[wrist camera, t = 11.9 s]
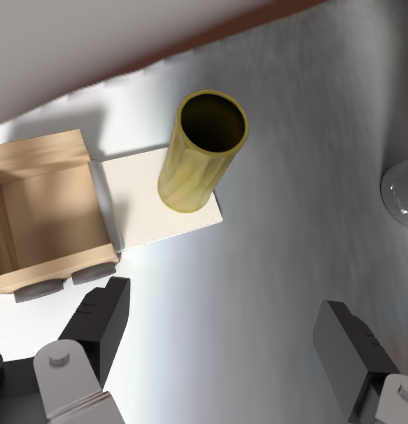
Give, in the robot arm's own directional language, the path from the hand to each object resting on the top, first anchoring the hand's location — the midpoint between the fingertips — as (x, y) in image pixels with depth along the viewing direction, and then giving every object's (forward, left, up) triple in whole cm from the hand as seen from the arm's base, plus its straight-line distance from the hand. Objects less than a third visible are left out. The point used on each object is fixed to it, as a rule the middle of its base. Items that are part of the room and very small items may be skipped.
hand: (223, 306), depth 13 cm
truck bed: (+9, -11, -21) cm, 26 cm away
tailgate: (-2, -11, -21) cm, 24 cm away
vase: (-5, -11, -20) cm, 23 cm away
